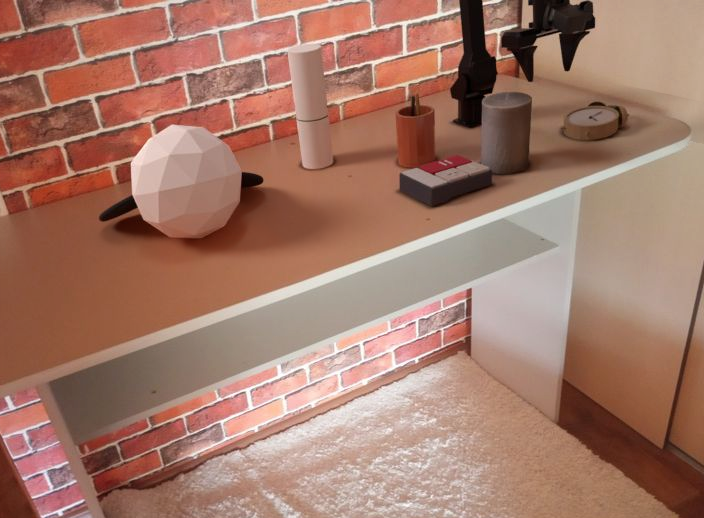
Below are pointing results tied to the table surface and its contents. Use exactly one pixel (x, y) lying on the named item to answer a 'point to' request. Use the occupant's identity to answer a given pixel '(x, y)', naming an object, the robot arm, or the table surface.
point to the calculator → (444, 179)
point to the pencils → (414, 99)
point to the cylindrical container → (310, 105)
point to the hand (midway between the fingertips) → (548, 76)
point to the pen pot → (415, 136)
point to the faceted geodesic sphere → (184, 183)
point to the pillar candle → (506, 132)
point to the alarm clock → (594, 121)
